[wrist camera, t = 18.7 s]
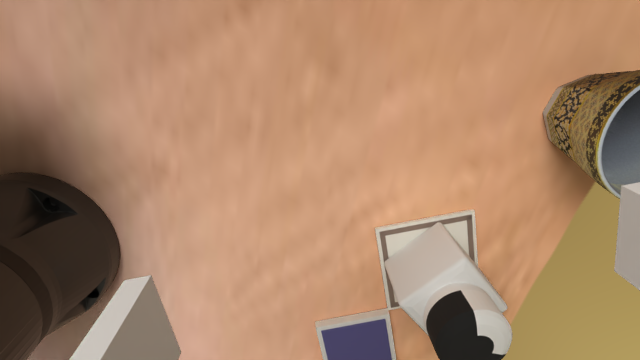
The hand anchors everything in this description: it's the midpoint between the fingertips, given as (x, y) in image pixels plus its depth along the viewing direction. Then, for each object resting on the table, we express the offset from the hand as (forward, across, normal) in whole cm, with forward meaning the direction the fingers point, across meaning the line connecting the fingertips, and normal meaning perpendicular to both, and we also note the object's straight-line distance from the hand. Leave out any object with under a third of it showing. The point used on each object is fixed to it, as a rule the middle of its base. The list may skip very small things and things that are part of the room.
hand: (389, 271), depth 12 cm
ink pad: (+27, -2, -27) cm, 38 cm away
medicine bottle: (+26, +8, -18) cm, 33 cm away
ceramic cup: (+27, +24, -6) cm, 37 cm away
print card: (+27, +8, -18) cm, 33 cm away
